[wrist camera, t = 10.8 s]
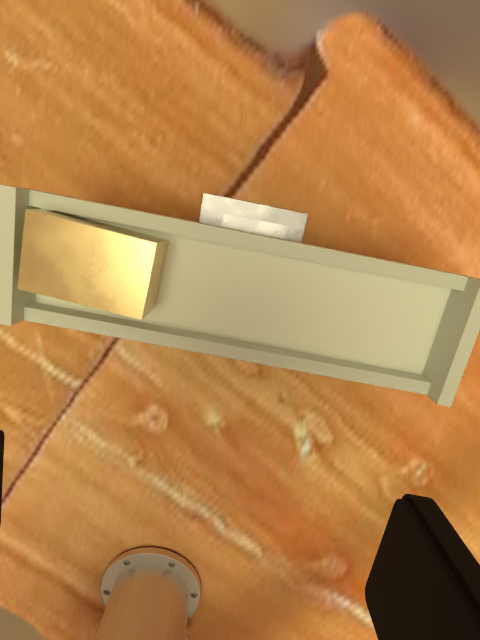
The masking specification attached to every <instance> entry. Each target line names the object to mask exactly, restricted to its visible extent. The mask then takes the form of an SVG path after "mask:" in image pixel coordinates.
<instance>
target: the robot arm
mask: <svg viewBox="0 0 480 640" xmlns="http://www.w3.org/2000/svg"><path fill="white" fill-rule="evenodd" d="M3 455H4V432H3V431H2V430H0V524H1V501H2V478H3ZM101 595H102V599H103V602H104V604H105V606H106V607H105V610H104V613H103V616H102V619H101V621H100V624H99V627H98V630H97V633H96V635H95V638H94V640H191V639H190V637H189V636H188V635H187V634H186V630H187V623H188V619H189V618H190V617H191V616H192V615H193V613H194V612H195V611H196V609H197V607H198V605H199V601H200V595H201V584H200V579H199V576H198V574H197V572H196V571H195V569H194V568H193V566H192V565H191V564H190V563H189V562H188V561H187V560H186V559H184V558H182V557H181V556H179V555H178V554H176V553H173V552H171V551H169V550H165V549H161V548H153V547H145V548H137V549H132V550H130V551H127V552H125V553H123V554H121V555H119V556H118V557H116V558H115V559H114V560H113V561H112V562H111V563H110V564H109V566H108V567H107V569H106V571H105V574H104V576H103V578H102V583H101ZM365 598H366V603H367V607H368V610H369V613H370V616H371V619H372V622H373V625H374V628H375V631H376V634H377V637H378V640H480V565H479V564H478V562H477V561H476V559H475V558H474V557H473V555H472V554H471V552H470V551H469V549H468V548H467V547H466V545H465V544H464V542H463V541H462V539H461V538H460V537H459V535H458V534H457V532H456V531H455V529H454V528H453V527H452V525H451V524H450V522H449V521H448V519H447V518H446V517H445V515H444V514H443V512H442V511H441V509H440V508H439V507H438V505H437V504H436V502H435V501H434V500H433V499H431V498H429V497H423V496H417V495H412V494H405V495H404V496H403V497H402V499H397V500H396V502H395V504H394V506H393V509H392V512H391V515H390V518H389V520H388V523H387V526H386V529H385V532H384V535H383V537H382V540H381V543H380V546H379V549H378V552H377V555H376V557H375V560H374V563H373V566H372V569H371V572H370V574H369V577H368V580H367V583H366V587H365Z"/></svg>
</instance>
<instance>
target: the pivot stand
mask: <svg viewBox="0 0 480 640" xmlns="http://www.w3.org/2000/svg"><path fill="white" fill-rule="evenodd" d="M307 216H308V214H305V213H300V212H295V211H290V210H285V209H280V208H275V207H270V206H265V205H260V204H256V203H251V202H246V201H241V200H236V199H231V198H226V197H221V196H216V195H211V194H206V193H204V194H203V200H202V207H201V213H200V219H199V222H200V223H205V224H210V225H215V226H220V227H225V228H230V229H235V230H240V231H245V232H250V233H255V234H260V235H265V236H270V237H275V238H280V239H285V240H290V241H295V242H300V243H301V242H302V238H303V234H304V229H305V225H306V221H307Z"/></svg>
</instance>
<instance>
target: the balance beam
mask: <svg viewBox="0 0 480 640" xmlns="http://www.w3.org/2000/svg"><path fill="white" fill-rule="evenodd" d="M26 209H36V210H53V211H60V212H65V213H68V214H72V215H76V216H80V217H84V218H87V219H91V220H95V221H99V222H103V223H106V224H110V225H114V226H118V227H122V228H125V229H129V230H133V231H137V232H141V233H144V234H148V235H152V236H156V237H159V238H163V239H167V240H169V245H168V250H167V255H166V260H165V265H164V269H163V274H162V279H161V284H160V289H159V294H158V298H157V303H156V307H155V308H154V309H153V310H152V311H150V312H149V313H148V314H147V315H146V316H145V317H144V318H143V319H142V320H140V319H136V318H132V317H128V316H124V315H120V314H116V313H112V312H108V311H104V310H100V309H96V308H92V307H88V306H84V305H80V304H76V303H72V302H68V301H64V300H60V299H56V298H52V297H48V296H44V295H40V294H36V293H32V292H28V291H24V290H20V289H17V286H18V277H19V268H20V258H21V249H22V239H23V230H24V221H25V211H26ZM23 320H25V321H31V322H36V323H41V324H47V325H52V326H58V327H63V328H68V329H74V330H79V331H85V332H90V333H95V334H101V335H106V336H112V337H117V338H122V339H128V340H133V341H139V342H144V343H149V344H155V345H160V346H166V347H171V348H176V349H182V350H187V351H193V352H198V353H203V354H209V355H214V356H220V357H225V358H230V359H236V360H241V361H247V362H252V363H257V364H263V365H268V366H274V367H279V368H284V369H290V370H295V371H301V372H306V373H311V374H317V375H322V376H328V377H333V378H338V379H344V380H349V381H355V382H360V383H365V384H371V385H376V386H382V387H387V388H392V389H398V390H403V391H409V392H414V393H419V394H425V395H428V396H429V397H430V398H431V399H432V400H433V401H434V402H435V403H436V404H437V405H443V406H448V407H451V405H452V402H453V399H454V397H455V394H456V391H457V389H458V386H459V383H460V381H461V378H462V375H463V373H464V370H465V367H466V365H467V362H468V359H469V357H470V354H471V351H472V349H473V346H474V343H475V341H476V338H477V335H478V333H479V330H480V279H477V278H473V277H469V276H465V275H460V274H456V273H451V272H446V271H441V270H436V269H431V268H426V267H421V266H416V265H411V264H406V263H401V262H396V261H391V260H386V259H381V258H376V257H371V256H366V255H361V254H356V253H351V252H346V251H340V250H335V249H330V248H325V247H320V246H315V245H310V244H305V243H300V242H295V241H290V240H285V239H280V238H275V237H270V236H265V235H260V234H255V233H250V232H245V231H240V230H235V229H230V228H225V227H220V226H215V225H210V224H205V223H200V222H195V221H190V220H185V219H180V218H175V217H170V216H165V215H160V214H155V213H150V212H145V211H140V210H135V209H130V208H125V207H120V206H115V205H110V204H104V203H99V202H94V201H89V200H84V199H79V198H74V197H69V196H64V195H59V194H54V193H49V192H44V191H39V190H33V189H26V188H20V187H13V186H6V185H0V324H3V325H9V326H12V325H14V324H16V323H19V322H21V321H23Z"/></svg>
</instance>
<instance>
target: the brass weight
mask: <svg viewBox="0 0 480 640" xmlns="http://www.w3.org/2000/svg"><path fill="white" fill-rule="evenodd" d="M168 245H169V240H167V239H163V238H159V237H156V236H152V235H148V234H144V233H141V232H137V231H133V230H129V229H125V228H122V227H118V226H114V225H110V224H106V223H103V222H99V221H95V220H91V219H87V218H84V217H80V216H76V215H72V214H68V213H65V212H60V211H53V210H36V209H26V211H25V221H24V230H23V239H22V249H21V258H20V268H19V277H18V286H17V289H20V290H24V291H28V292H32V293H36V294H40V295H44V296H48V297H52V298H56V299H60V300H64V301H68V302H72V303H76V304H80V305H84V306H88V307H92V308H96V309H100V310H104V311H108V312H112V313H116V314H120V315H124V316H128V317H132V318H136V319H140V320H142V319H143V318H144V317H145V316H146V315H147V314H148V313H149V312H150V311H152V310H153V309H154V308H155V307H156V303H157V298H158V294H159V289H160V284H161V279H162V274H163V269H164V265H165V260H166V255H167V250H168Z"/></svg>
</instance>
